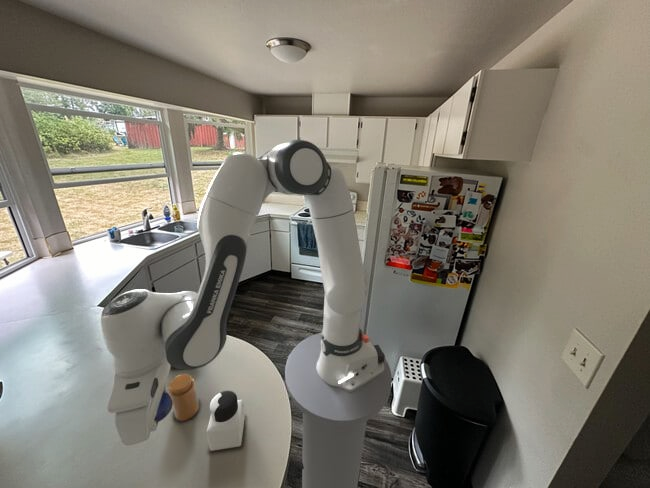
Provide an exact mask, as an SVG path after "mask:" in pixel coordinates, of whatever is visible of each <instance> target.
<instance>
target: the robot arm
mask: <svg viewBox="0 0 650 488" xmlns="http://www.w3.org/2000/svg"><path fill="white" fill-rule="evenodd" d="M272 193H280V194H284V195H289V196H290V195H300V196H303V197H304V198H305V200H306V202H307V205H308V210H309V211H308V212H309V216H310V220H311V224H312V228H313V233H314V237H315V241H316V247H317V254H318V260H319V267H320V274H321V280H322V286H323V291H324V302H323V323H322V330H321V333H322V334H321V353H320V357H319V359H318V361H317V365H316V369H317V373H318V375H319V376H320V378H321V379H322V380H323V381H325V382H326V383H328V384H330V385H333V386H337V387H341V388H343V389H344V390H346V391H348V392H352V391H354V390H356V389H357V388H359V387H360V386H362V385H364V384H365V383H367V382H368V381H370V380H371V379H373V378H374V377H376V376H378V375H379V374H381V373H382V372H384V363H383V362H384V359H386V355H385V353H384V352H383V350H382V348H381V347H380V345H379V344H373V343H372V341H371V340H370V339H371V338H370V337H369V336H368V335H367V334H364V333H363V330H362V329H361V327H360V326H361V316H362V309H363V307H364V306H365V303H366V300H367V293H368V285H367V280H366V275H365V269H364V262H363V257H362V251H361V247H360V246H361V245H360V240H359V234H358V230H357V223H356V216H355V211H354V205H353V200H352V196H351V192H350V189H349V185H348V183H347V180H346V177H345V175H344V172H343V171H342V170H340V169H339V168H337V167H335V166H331V165H330V163H328V161H327V158H326V157H325V155H324V153H323V152H322V151H321V148H319V147H318V146H317V145H316V144H315V143H313V142H311V141H309V140H304V139H292V140H290V141H286V142H283V143H282V142H281V143H280V144H278V145H276V146H274V147H272V149H270V150H268V151H266V152H265V153H264V154H262V155H261V156H259V157H256V156H254V155H252V154H250V153H246V152H232V153H230V154H229V155H228V156H226V158H225V159H224V160H223V162H222V163H221V165H220V167H219V168H218V170H217V171H216V173H215V175H214V177H213V178H212V180H211V182H210V184H209V186H208V189H207V190H206V192H205V195H204V197H203V200H202V202H201V205H200V208H199V213H198V216H197V217H198V218H197V225H196V227H197V230H198V233H199V238H200V241H201V243H202V247H203V251H204V256H205V257H204V259H205V267H204V273H203V276H202V279H201V283H200V286H199V289H198V291H194V290H180V291H177V292H171V293H170V292H166V293H165V292H155V291H154V292H153V291H151V290H148V289H145V288H144V289H143V288H142V289H141V288H140V289H139V288H138V289H132V290H129V291H126V292H124V293H121V294H119V295H117V296H116V297H114V298H112V300H110V301H109V302H108V303H107V304H106V305H105V306H104V307H103V309H102V311H101V314H100V327H101V333H102V336H103V340H104V344H105V346H106V349H107V351H108V352H109V353H110V354H111V355H112V367H113V370H114V373H113V379H112V380H113V381H112V387H111V391H110V394H109V398H108V401H107V405H106V406H107V407H106V408H107V411H108V413H109V414H114V425H115V429H116V431H117V434H118V437H119V438H120V440H121V443H122V444H123V445H124V446H127V447H128V446H133V445H137V444H140V443H145V442H146V441H148V440H149V438H150V436H151V433H153V432H155V431H156V430H157V428H158V424H159V422H158V421H157V418H155V416H156V413H157V410H158V407H159V403H160V400H161V397H162V394H163V392H165V393H167V381H168V377H169V374H170V371H171V369H172V368H171V366H173V367H175V368H178V369H179V370H183V371H184V370H185V371H190V370H196V369H200V368H203V367H205V366H207V365H209V364H210V363H212V362H213V361H214V360H215V359H216V358H217V357H218V356H219V354H220V353H221V352H222V350H223V349H224V347H225V345H226V343H227V336H228V335H227V334H228V333H227V321H228V317H229V314H230V311H231V307H232V304H233V301H234V298H235V295H236V291H237V289H238V286H239V282H240V279H241V276H242V273H243V270H244V266H245V261H246V256H247V252H248V247H249V243H250V238H251V236H252V232H253V229H254V226H255V224H256V221H257V219H258V216H259V214H260V211H261V209H262V206H263V204H264V202H265V201H266V199H267V198H268V197H269V196H270V195H271V194H272ZM380 363H381V364H380ZM178 369H177V370H178ZM352 385H354V386H352Z"/></svg>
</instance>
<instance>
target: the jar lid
mask: <svg viewBox="0 0 650 488" xmlns="http://www.w3.org/2000/svg"><path fill="white" fill-rule="evenodd" d="M172 403H173V402H172V399H171V396H170V394H169V392H168V393H165V392H163V394H162V397H161V400H160V403H159V407H158V410H157V413H156V416H155V418H157V421H158V423H160V422H161V421H163V420H164V419H165V418H166V417H167V416H169V414H170V412H171V411H172V409H173V405H172Z"/></svg>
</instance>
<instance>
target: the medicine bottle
mask: <svg viewBox="0 0 650 488" xmlns="http://www.w3.org/2000/svg"><path fill="white" fill-rule="evenodd" d="M209 410H210V416H209V420H208V424H207V429H206V437H207V441H208V446H209V450H210V451H211V452H213V451H219V450H227V449H232V448H237V447H241V446H242V441H243V435H244V434H243V433H244V426H245V409H244V401H243V399H238V395H237V394H236V393H235V391H232V390H223V391H220V392H219V393H217V394H216V395H215V396H213V398H212V399H211V401H210V404H209Z"/></svg>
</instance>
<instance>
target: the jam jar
mask: <svg viewBox="0 0 650 488" xmlns="http://www.w3.org/2000/svg"><path fill="white" fill-rule="evenodd" d="M168 387H169V388H168V394H169V395H170V396H171V399H172V402H173V403H172V405H173V406H172V409H173V413H174V417H175V419H176V420H177V421H187V420H190V419H191V418H193V417H194V416H195V415H196V414H197V412H198V411H199V408H200V403H199V399H198V393H197V389H196V383H195V380H194V378H193V377H192V376H191V375H190V374H189V373H182V374H179V375H177V376H175V377H174V378H173V379H172V380H171V381H170V383H169V385H168Z"/></svg>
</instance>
